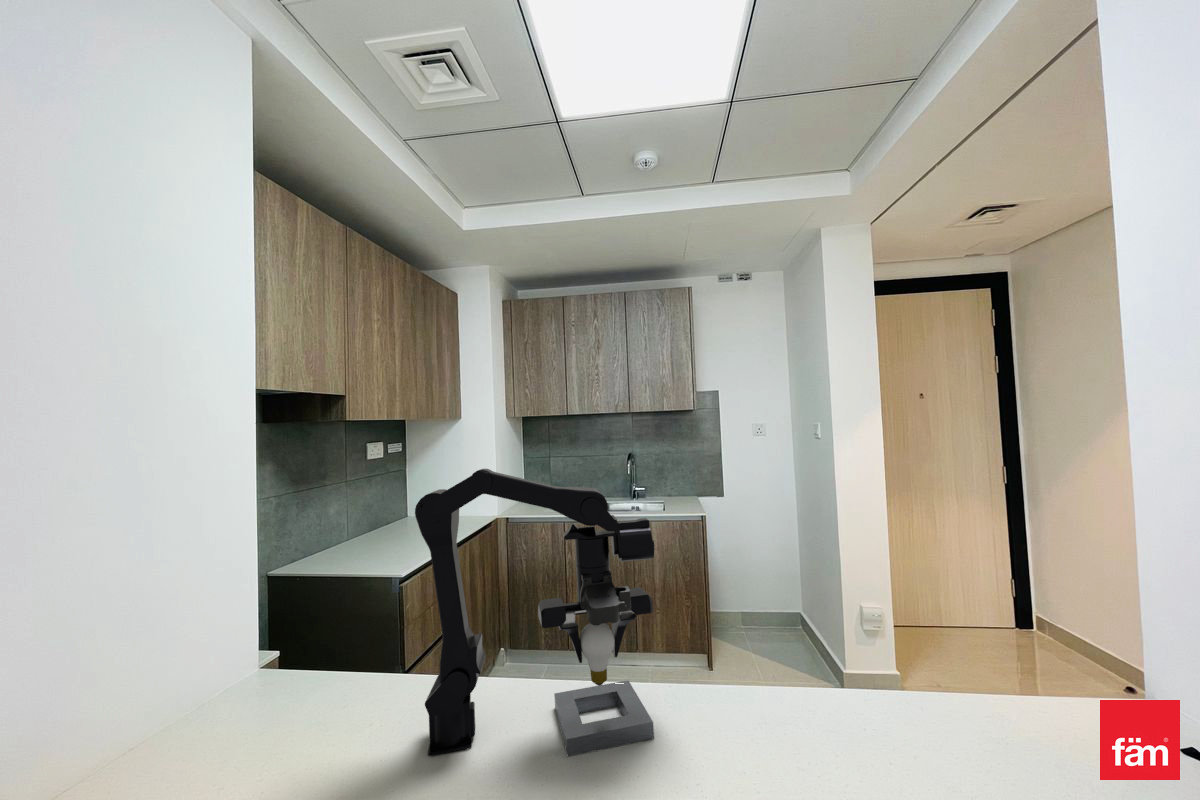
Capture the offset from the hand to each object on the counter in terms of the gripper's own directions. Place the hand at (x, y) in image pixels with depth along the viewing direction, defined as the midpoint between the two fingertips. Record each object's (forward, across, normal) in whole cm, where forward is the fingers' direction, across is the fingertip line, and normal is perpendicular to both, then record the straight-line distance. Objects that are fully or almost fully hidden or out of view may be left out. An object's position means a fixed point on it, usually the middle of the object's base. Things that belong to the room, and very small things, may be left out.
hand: (597, 659), depth 81 cm
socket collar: (+10, 0, 0) cm, 10 cm away
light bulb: (+4, 0, 0) cm, 4 cm away
